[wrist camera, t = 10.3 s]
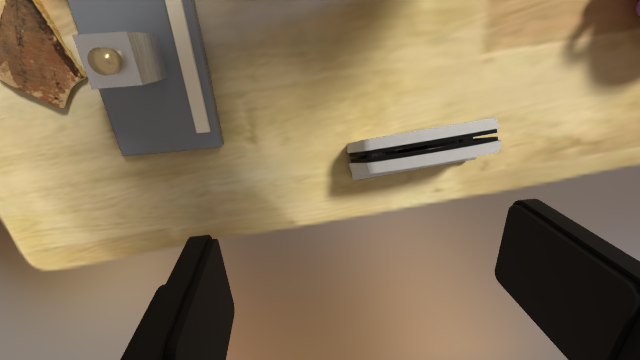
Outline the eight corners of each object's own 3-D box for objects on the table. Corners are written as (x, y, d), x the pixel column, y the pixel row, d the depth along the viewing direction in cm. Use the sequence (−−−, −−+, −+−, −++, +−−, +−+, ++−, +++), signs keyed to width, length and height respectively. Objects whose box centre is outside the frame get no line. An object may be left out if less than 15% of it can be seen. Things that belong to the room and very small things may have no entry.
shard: (22, -32, 28) (6, -36, 27) (109, 16, 30) (99, 14, 29) (2, 75, 31) (-14, 77, 30) (81, 110, 34) (71, 114, 32)
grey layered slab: (349, 179, 40) (364, 187, 30) (343, 144, 40) (356, 140, 30) (471, 158, 41) (524, 159, 31) (466, 123, 40) (519, 113, 30)
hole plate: (13, -183, 24) (-9, -201, 22) (156, -185, 25) (146, -203, 23) (129, 151, 36) (120, 157, 34) (223, 143, 36) (220, 148, 34)
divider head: (116, 36, 29) (63, 34, 22) (159, 34, 29) (120, 30, 22) (129, 80, 31) (84, 90, 24) (170, 77, 31) (137, 86, 24)
